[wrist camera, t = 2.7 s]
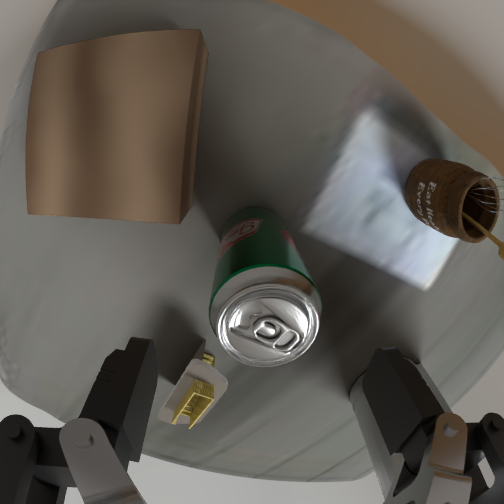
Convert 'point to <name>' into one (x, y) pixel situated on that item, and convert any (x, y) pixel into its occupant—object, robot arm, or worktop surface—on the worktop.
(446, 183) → the utensil holder
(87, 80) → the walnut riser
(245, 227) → the soda can
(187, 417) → the grey flat gold-topped slab
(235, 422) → the worktop surface
